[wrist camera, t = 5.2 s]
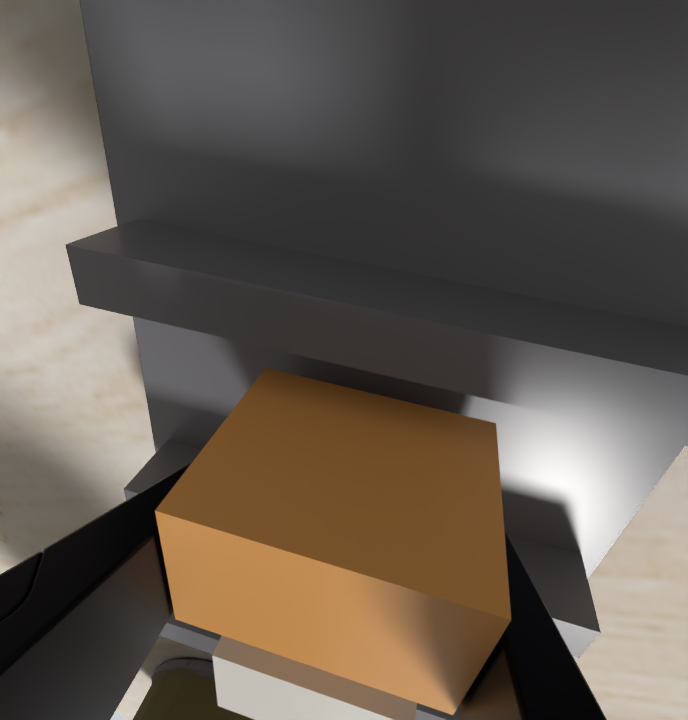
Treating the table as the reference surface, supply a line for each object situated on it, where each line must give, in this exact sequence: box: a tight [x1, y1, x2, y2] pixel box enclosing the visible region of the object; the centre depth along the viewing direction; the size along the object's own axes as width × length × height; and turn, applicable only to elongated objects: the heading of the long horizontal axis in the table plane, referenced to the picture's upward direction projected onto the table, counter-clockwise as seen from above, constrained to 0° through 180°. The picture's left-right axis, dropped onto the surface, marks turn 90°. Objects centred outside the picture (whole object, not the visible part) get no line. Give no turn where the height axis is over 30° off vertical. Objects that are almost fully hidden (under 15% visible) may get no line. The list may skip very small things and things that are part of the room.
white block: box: [212, 636, 417, 720], centre depth 13 cm, size 5×3×4 cm, turn 83°
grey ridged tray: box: [66, 0, 688, 720], centre depth 10 cm, size 13×21×3 cm, turn 173°
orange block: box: [155, 368, 511, 715], centre depth 8 cm, size 5×3×4 cm, turn 83°
